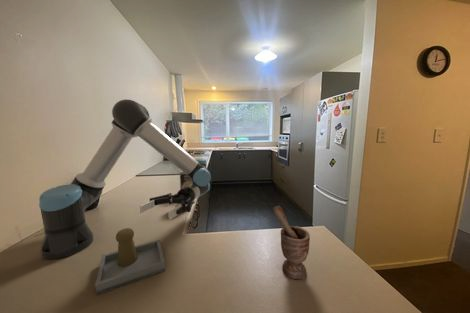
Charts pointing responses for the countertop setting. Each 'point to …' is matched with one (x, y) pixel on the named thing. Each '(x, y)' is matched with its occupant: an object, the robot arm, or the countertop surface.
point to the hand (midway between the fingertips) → (154, 212)
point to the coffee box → (184, 180)
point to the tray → (129, 267)
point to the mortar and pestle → (293, 246)
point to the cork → (126, 247)
